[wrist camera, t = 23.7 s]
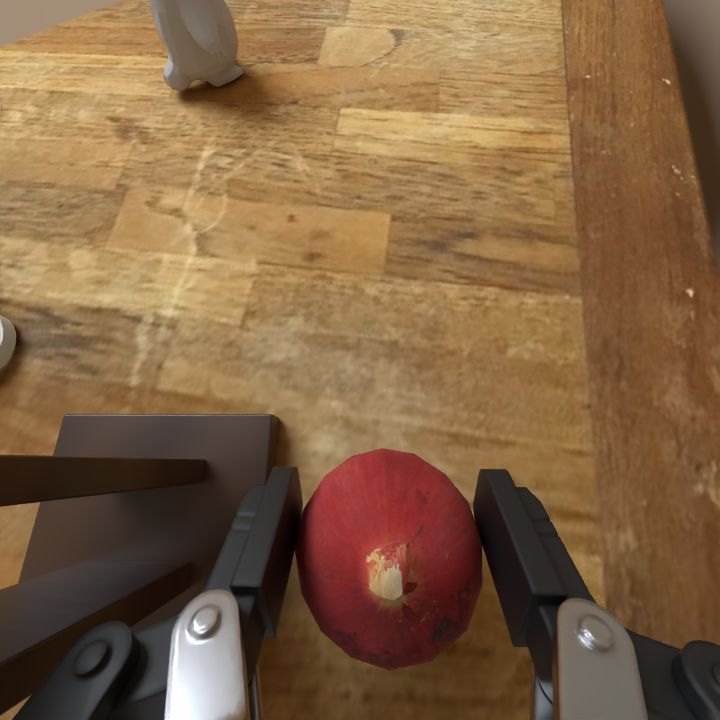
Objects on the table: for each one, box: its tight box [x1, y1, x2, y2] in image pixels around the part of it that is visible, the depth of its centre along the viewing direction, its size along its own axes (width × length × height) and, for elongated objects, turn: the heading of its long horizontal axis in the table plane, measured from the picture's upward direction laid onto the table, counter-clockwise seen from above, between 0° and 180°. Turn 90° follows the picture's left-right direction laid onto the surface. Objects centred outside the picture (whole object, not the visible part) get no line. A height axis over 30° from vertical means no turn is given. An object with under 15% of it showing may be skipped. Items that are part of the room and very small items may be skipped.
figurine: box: [150, 0, 245, 91], centre depth 20 cm, size 8×6×8 cm
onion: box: [295, 448, 482, 670], centre depth 10 cm, size 6×6×8 cm
